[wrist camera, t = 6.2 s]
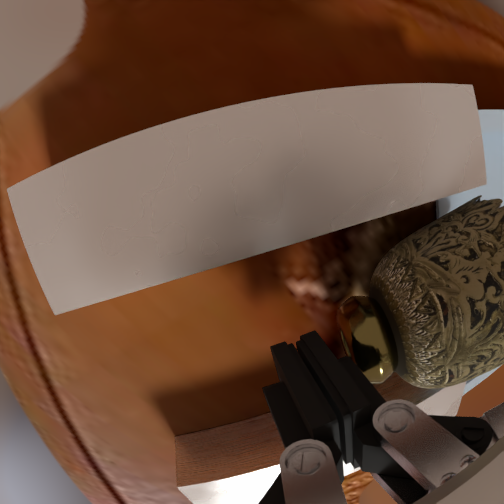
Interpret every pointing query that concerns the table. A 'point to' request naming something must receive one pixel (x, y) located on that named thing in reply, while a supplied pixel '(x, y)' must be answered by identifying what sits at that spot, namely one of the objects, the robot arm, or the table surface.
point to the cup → (434, 303)
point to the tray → (498, 185)
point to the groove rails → (246, 219)
